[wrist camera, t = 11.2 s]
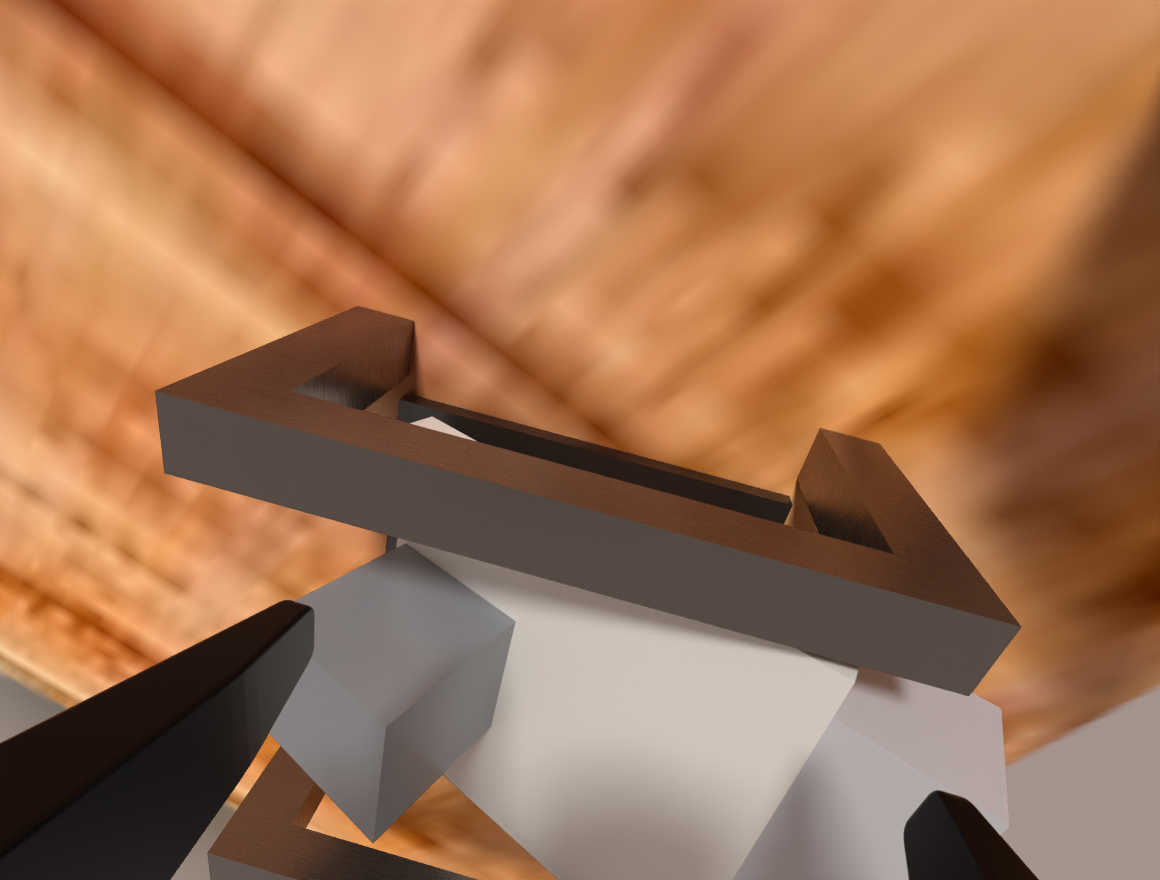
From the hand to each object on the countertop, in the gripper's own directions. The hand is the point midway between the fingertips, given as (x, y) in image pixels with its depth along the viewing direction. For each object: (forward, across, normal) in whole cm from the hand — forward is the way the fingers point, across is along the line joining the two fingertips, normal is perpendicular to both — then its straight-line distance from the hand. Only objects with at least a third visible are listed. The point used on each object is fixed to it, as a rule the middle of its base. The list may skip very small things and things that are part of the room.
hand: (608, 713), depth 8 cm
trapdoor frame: (+12, +2, +9) cm, 15 cm away
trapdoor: (+11, -3, +9) cm, 14 cm away
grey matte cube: (+9, +5, +9) cm, 13 cm away
